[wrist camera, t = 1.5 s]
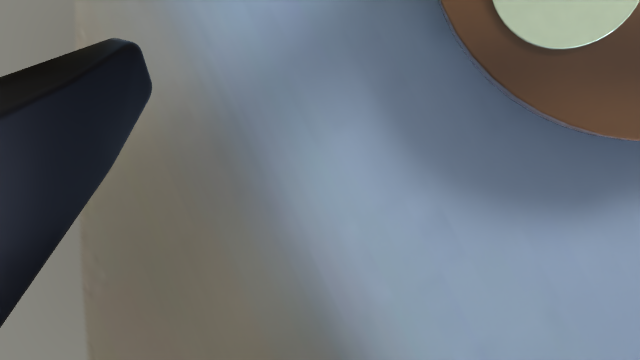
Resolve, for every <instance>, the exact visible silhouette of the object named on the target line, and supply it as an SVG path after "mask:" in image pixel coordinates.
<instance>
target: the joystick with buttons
mask: <svg viewBox="0 0 640 360" xmlns="http://www.w3.org/2000/svg"><path fill="white" fill-rule="evenodd" d="M439 3H440V6H441V9H442V12H443V15H444V17H445V19H446V21H447V23H448V25H449V27H450V29H451V31H452V33H453V35H454V37H455V39H456V41H457V42H458V44H459V45H460V46H461V48H462V49H463V51H464V52H465V54H466V55H467V56H468V58H469V59H470V61H471V62H472V63H473V64H474V65H475V66H476V68H477V69H478V70H479V71H480V72H481V73H482V74H483V75H484V76H485V77H486V78H487V79H488V80H489V82H491V83H492V84H493V85H494V86H495V87H497V88H498V89H499V90H500V91H502V92H503V93H504V94H505V95H506V96H508V97H509V98H510V99H511V100H513V101H515V102H516V103H518V104H519V105H521V106H523V107H524V108H526V109H528V110H529V111H531V112H532V113H534V114H536V115H538V116H540V117H543V118H545V119H547V120H549V121H552V122H554V123H556V124H558V125H561V126H563V127H567V128H570V129H573V130H577V131H580V132H583V133H587V134H590V135H595V136H601V137H607V138H613V139H619V140H632V141H640V0H439Z"/></svg>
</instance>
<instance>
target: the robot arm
mask: <svg viewBox="0 0 640 360" xmlns="http://www.w3.org/2000/svg"><path fill="white" fill-rule="evenodd" d="M151 91H152V82H151V79H150V76H149V73H148V69H147V66H146V63H145V60H144V57H143V54H142V51H141V49H140V47H139V46H138V45H137V44H135V43H134V42H130V41H126V40H122V39H118V38H111V39H108V40H105V41H102V42H99V43H97V44H94V45H91V46H88V47H85V48H82V49H79V50H77V51H74V52H71V53H68V54H65V55H62V56H59V57H57V58H54V59H51V60H48V61H45V62H43V63H39V64H37V65H34V66H31V67H28V68H25V69H22V70H20V71H17V72H14V73H11V74H8V75H5V76H2V77H0V327H1V326H2V325H3V323H4V322H5V320H6V319H7V317H8V316H9V314H10V313H11V312H12V310H13V309H14V307H15V306H16V304H17V302H18V301H19V300H20V299H21V297H22V296H23V294H24V293H25V291H26V290H27V289H28V287H29V286H30V284H31V283H32V281H33V280H34V278H35V277H36V276H37V274H38V273H39V271H40V270H41V268H42V267H43V265H44V264H45V263H46V261H47V260H48V258H49V257H50V255H51V254H52V253H53V251H54V250H55V248H56V247H57V245H58V244H59V242H60V241H61V240H62V238H63V237H64V235H65V234H66V232H67V231H68V229H69V228H70V226H71V225H72V224H73V222H74V221H75V219H76V218H77V217H78V215H79V214H80V212H81V211H82V209H83V208H84V206H85V205H86V204H87V202H88V201H89V199H90V198H91V196H92V195H93V193H94V192H95V191H96V189H97V188H98V186H99V185H100V183H101V182H102V181H103V179H104V178H105V176H106V175H107V173H108V171H109V170H110V168H111V167H112V165H113V163H114V162H115V160H116V158H117V156H118V155H119V153H120V151H121V149H122V147H123V146H124V144H125V142H126V140H127V138H128V136H129V135H130V133H131V131H132V129H133V127H134V125H135V124H136V122H137V120H138V118H139V116H140V114H141V113H142V111H143V109H144V107H145V105H146V103H147V102H148V100H149V98H150V95H151Z"/></svg>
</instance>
